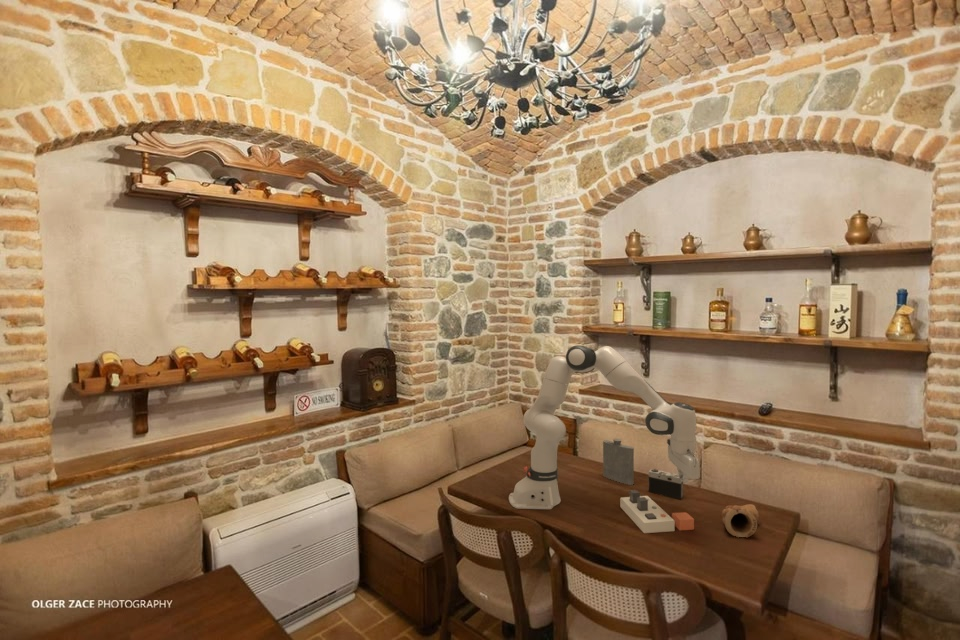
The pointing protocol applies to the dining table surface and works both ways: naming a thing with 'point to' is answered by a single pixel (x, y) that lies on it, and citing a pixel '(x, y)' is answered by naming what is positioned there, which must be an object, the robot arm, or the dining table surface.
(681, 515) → the cap
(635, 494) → the block
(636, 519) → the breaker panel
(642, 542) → the dining table surface
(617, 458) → the hip flask
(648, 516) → the block
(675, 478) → the camera
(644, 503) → the block
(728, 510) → the clay pipe
